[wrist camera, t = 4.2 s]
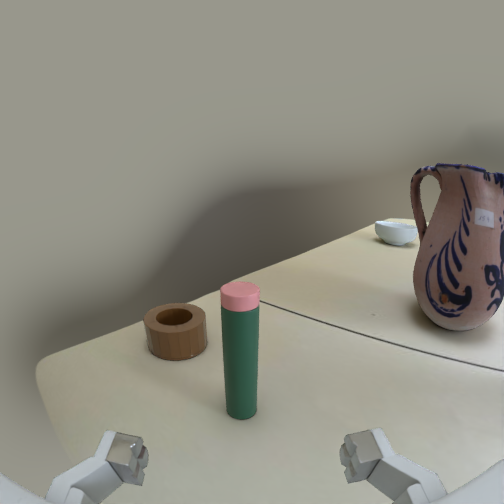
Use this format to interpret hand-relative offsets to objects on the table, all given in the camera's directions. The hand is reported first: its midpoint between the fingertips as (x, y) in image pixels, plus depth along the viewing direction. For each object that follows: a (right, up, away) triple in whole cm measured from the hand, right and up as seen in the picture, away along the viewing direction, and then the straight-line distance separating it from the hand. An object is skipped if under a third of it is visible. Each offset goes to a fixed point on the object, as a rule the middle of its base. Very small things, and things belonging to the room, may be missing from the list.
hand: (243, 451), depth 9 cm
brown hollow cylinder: (-9, -4, +25) cm, 27 cm away
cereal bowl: (+53, +11, +84) cm, 100 cm away
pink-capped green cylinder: (-1, -7, +14) cm, 16 cm away
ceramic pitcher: (+33, -4, +30) cm, 45 cm away
